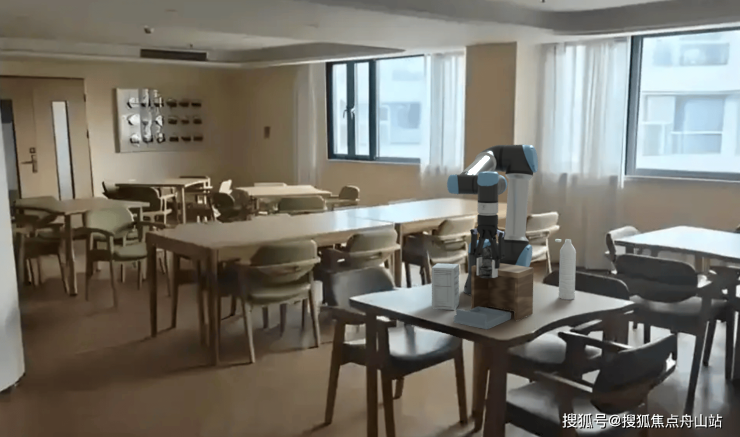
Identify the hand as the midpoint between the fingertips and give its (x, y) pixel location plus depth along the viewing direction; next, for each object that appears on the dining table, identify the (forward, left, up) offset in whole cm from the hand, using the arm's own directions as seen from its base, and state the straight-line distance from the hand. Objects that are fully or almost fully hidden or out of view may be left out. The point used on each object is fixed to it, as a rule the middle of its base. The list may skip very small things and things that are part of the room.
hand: (487, 275), depth 243 cm
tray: (0, -3, -17) cm, 17 cm away
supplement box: (-22, +5, -17) cm, 28 cm away
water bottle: (+9, +47, -17) cm, 51 cm away
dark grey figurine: (0, 0, -1) cm, 1 cm away
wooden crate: (0, +11, -17) cm, 20 cm away
